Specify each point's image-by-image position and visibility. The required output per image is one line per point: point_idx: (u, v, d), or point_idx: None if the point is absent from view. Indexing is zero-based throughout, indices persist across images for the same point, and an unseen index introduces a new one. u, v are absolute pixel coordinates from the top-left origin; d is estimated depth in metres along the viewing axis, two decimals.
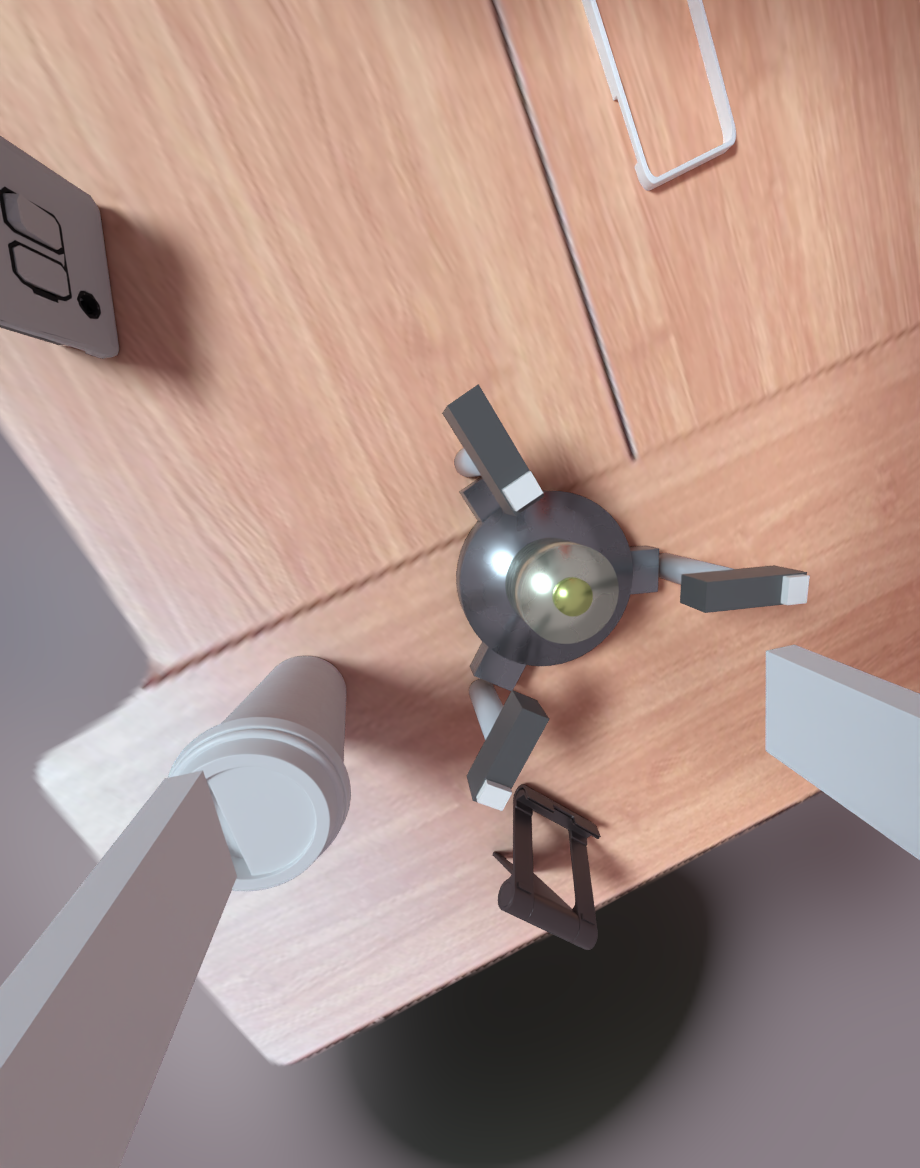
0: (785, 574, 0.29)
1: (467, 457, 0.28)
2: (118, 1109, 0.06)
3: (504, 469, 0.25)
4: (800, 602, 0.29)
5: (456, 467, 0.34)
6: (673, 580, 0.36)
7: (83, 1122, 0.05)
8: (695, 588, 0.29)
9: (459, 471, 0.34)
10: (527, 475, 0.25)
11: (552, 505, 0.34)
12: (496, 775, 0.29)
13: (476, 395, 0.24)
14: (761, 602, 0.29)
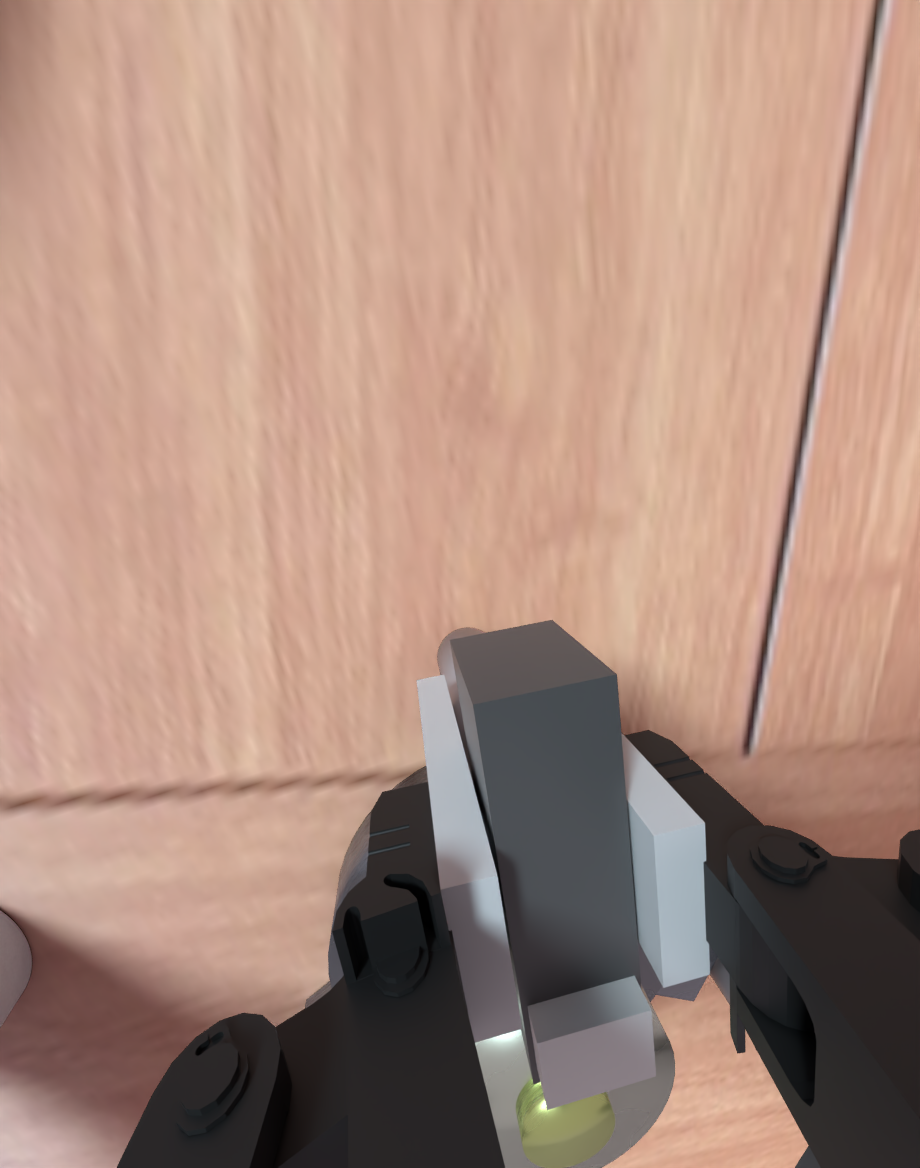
0: None
1: (466, 745, 0.10)
2: None
3: (566, 952, 0.07)
4: None
5: (438, 663, 0.16)
6: None
7: None
8: None
9: None
10: (634, 1018, 0.07)
11: None
12: None
13: (590, 706, 0.06)
14: None
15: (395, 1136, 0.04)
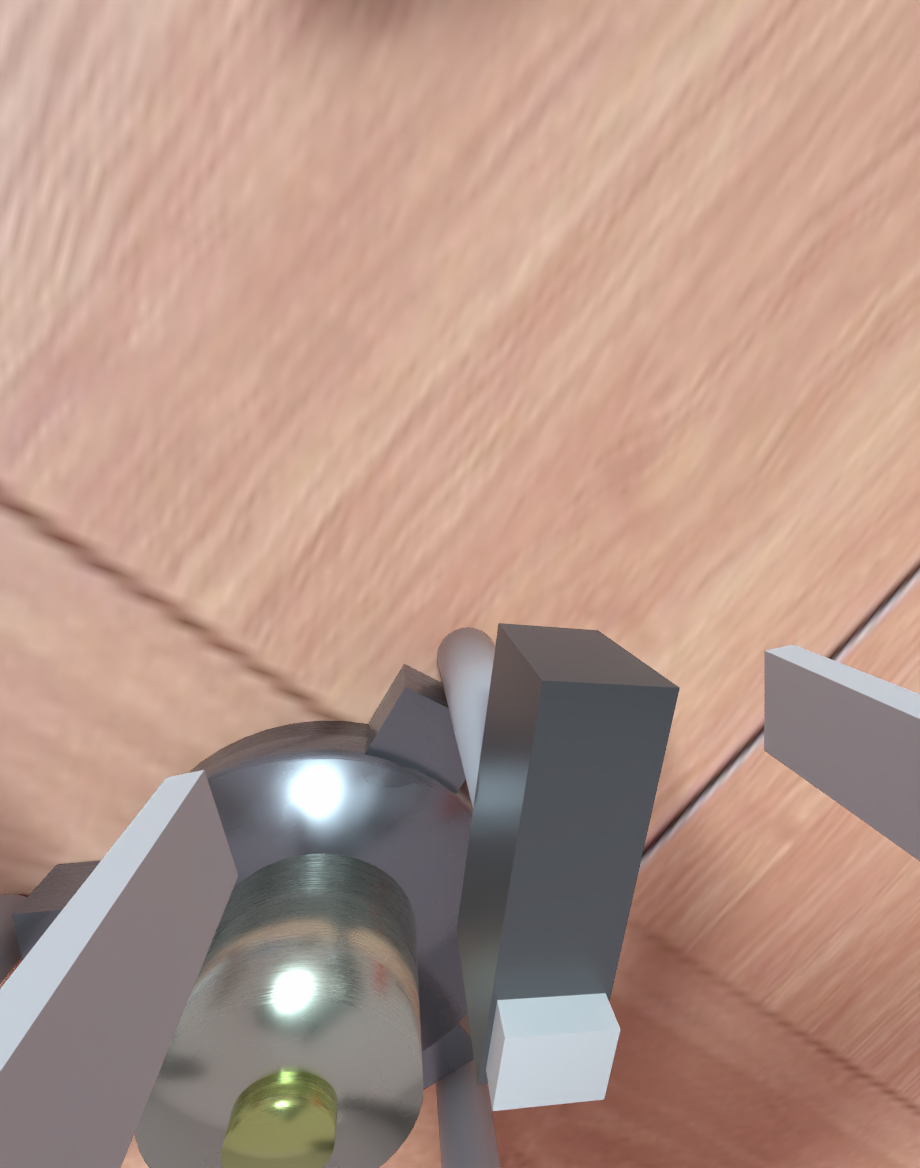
0: None
1: (473, 734, 0.10)
2: (119, 1108, 0.06)
3: (550, 953, 0.07)
4: None
5: (440, 655, 0.16)
6: (441, 1129, 0.18)
7: (86, 1120, 0.05)
8: None
9: (439, 668, 0.16)
10: (602, 1033, 0.07)
11: None
12: None
13: (647, 713, 0.06)
14: None
15: None
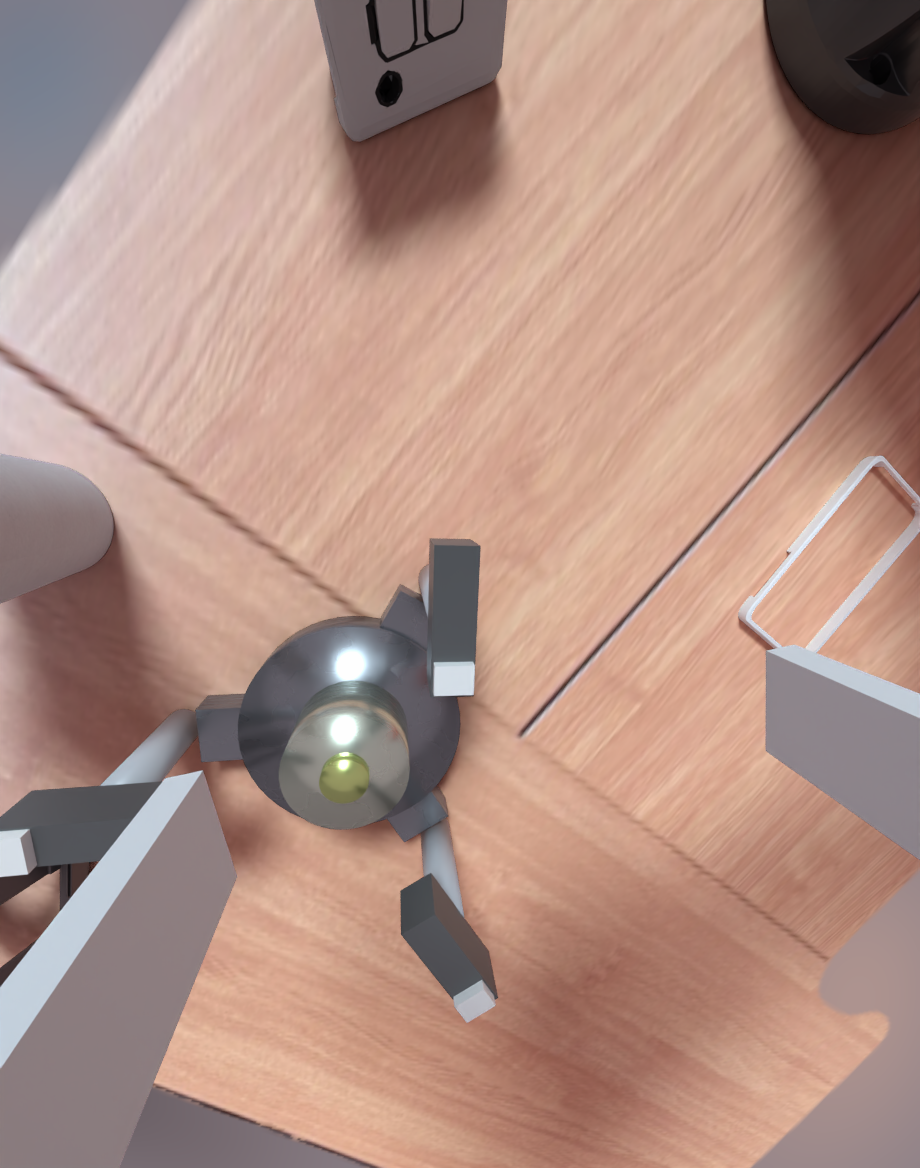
0: (484, 980, 0.25)
1: (428, 592, 0.23)
2: (117, 1109, 0.06)
3: (450, 644, 0.20)
4: (464, 1017, 0.24)
5: (419, 577, 0.29)
6: (423, 852, 0.31)
7: (83, 1122, 0.05)
8: (422, 902, 0.24)
9: (419, 584, 0.29)
10: (468, 667, 0.20)
11: None
12: (44, 838, 0.19)
13: (470, 555, 0.20)
14: (443, 978, 0.24)
15: None
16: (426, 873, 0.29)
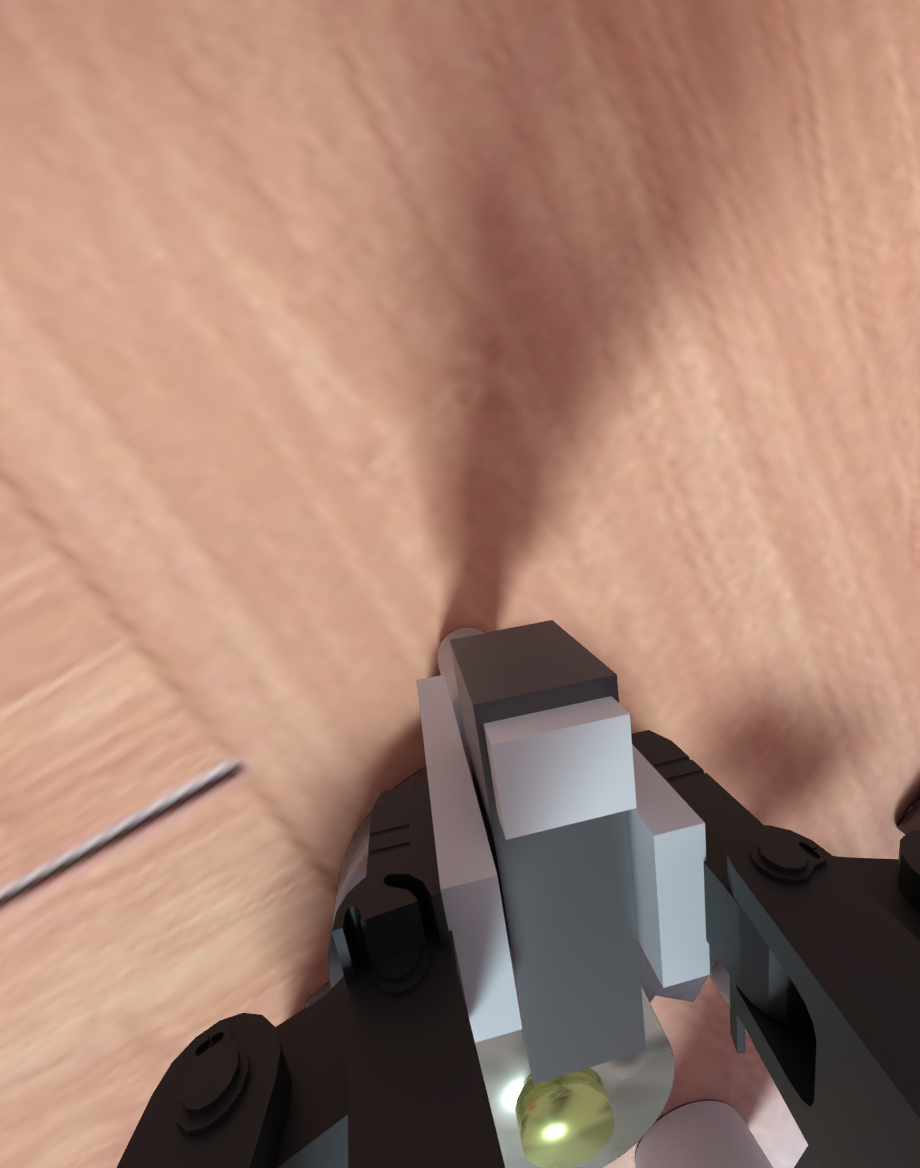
0: (488, 798, 0.06)
1: None
2: None
3: None
4: (625, 748, 0.06)
5: None
6: None
7: None
8: None
9: None
10: None
11: None
12: None
13: None
14: (611, 868, 0.07)
15: (395, 1137, 0.04)
16: None
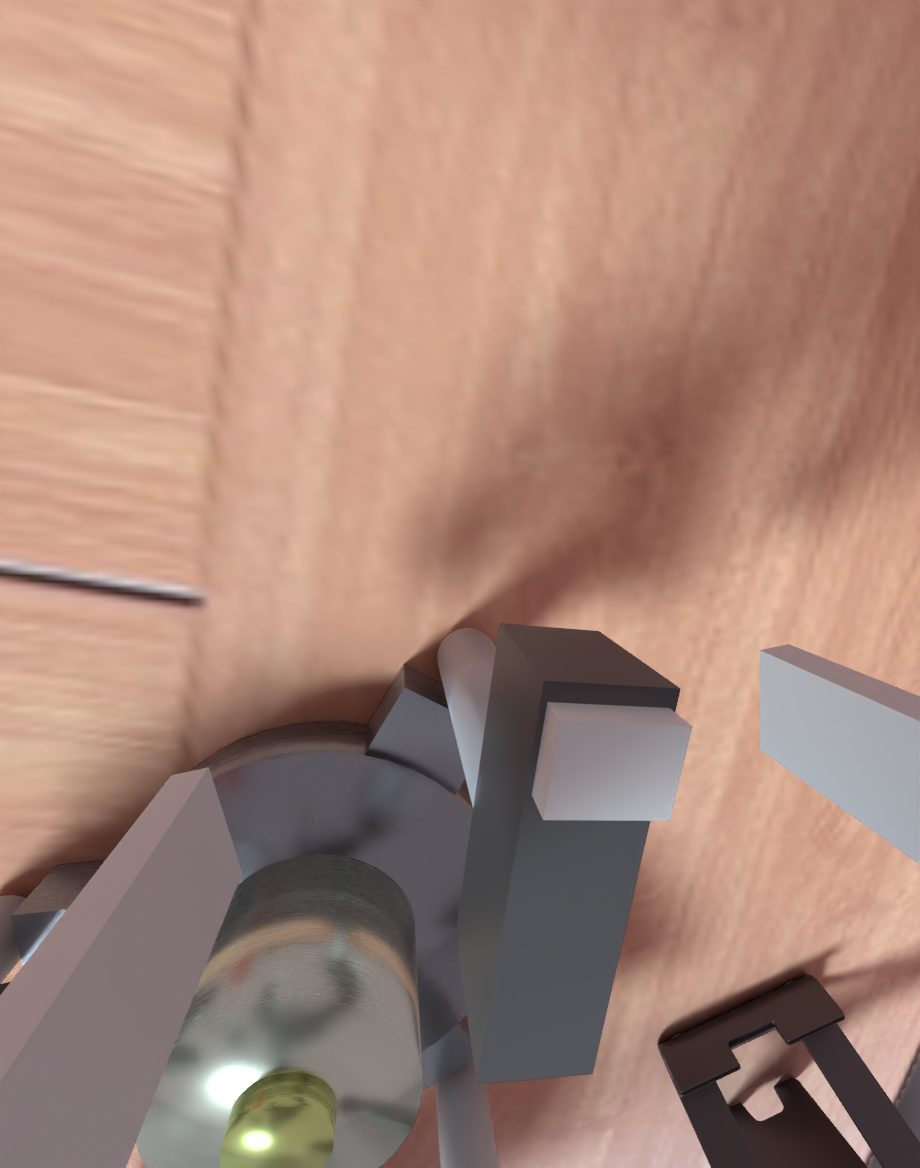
0: (527, 777, 0.06)
1: None
2: (128, 1100, 0.06)
3: None
4: (678, 758, 0.06)
5: None
6: None
7: (95, 1111, 0.05)
8: None
9: (12, 966, 0.16)
10: None
11: None
12: None
13: None
14: (617, 879, 0.07)
15: None
16: None
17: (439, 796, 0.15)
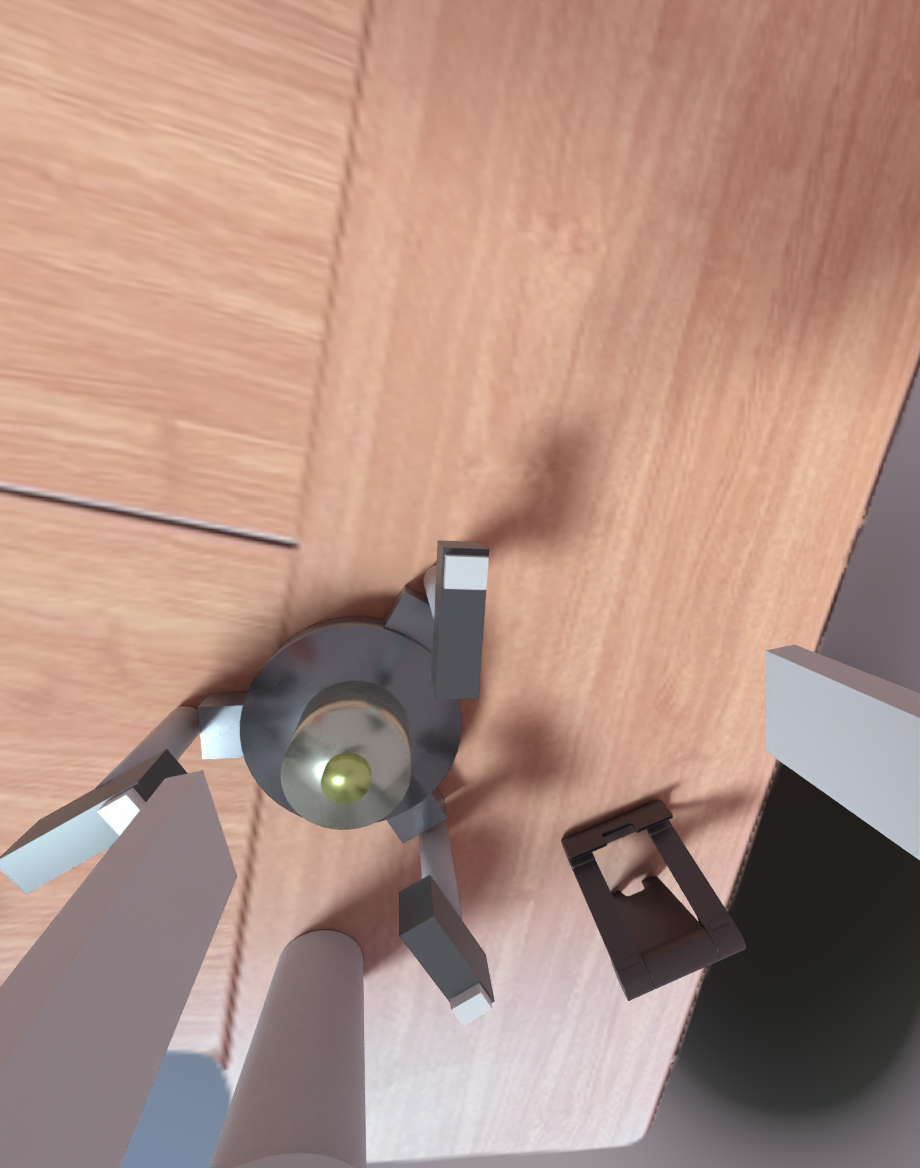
0: (441, 581, 0.20)
1: None
2: (116, 1110, 0.06)
3: (103, 830, 0.20)
4: (485, 568, 0.19)
5: None
6: None
7: (83, 1122, 0.05)
8: None
9: None
10: (103, 814, 0.19)
11: (271, 685, 0.28)
12: (454, 989, 0.24)
13: (8, 865, 0.20)
14: (477, 618, 0.20)
15: None
16: None
17: (423, 651, 0.29)
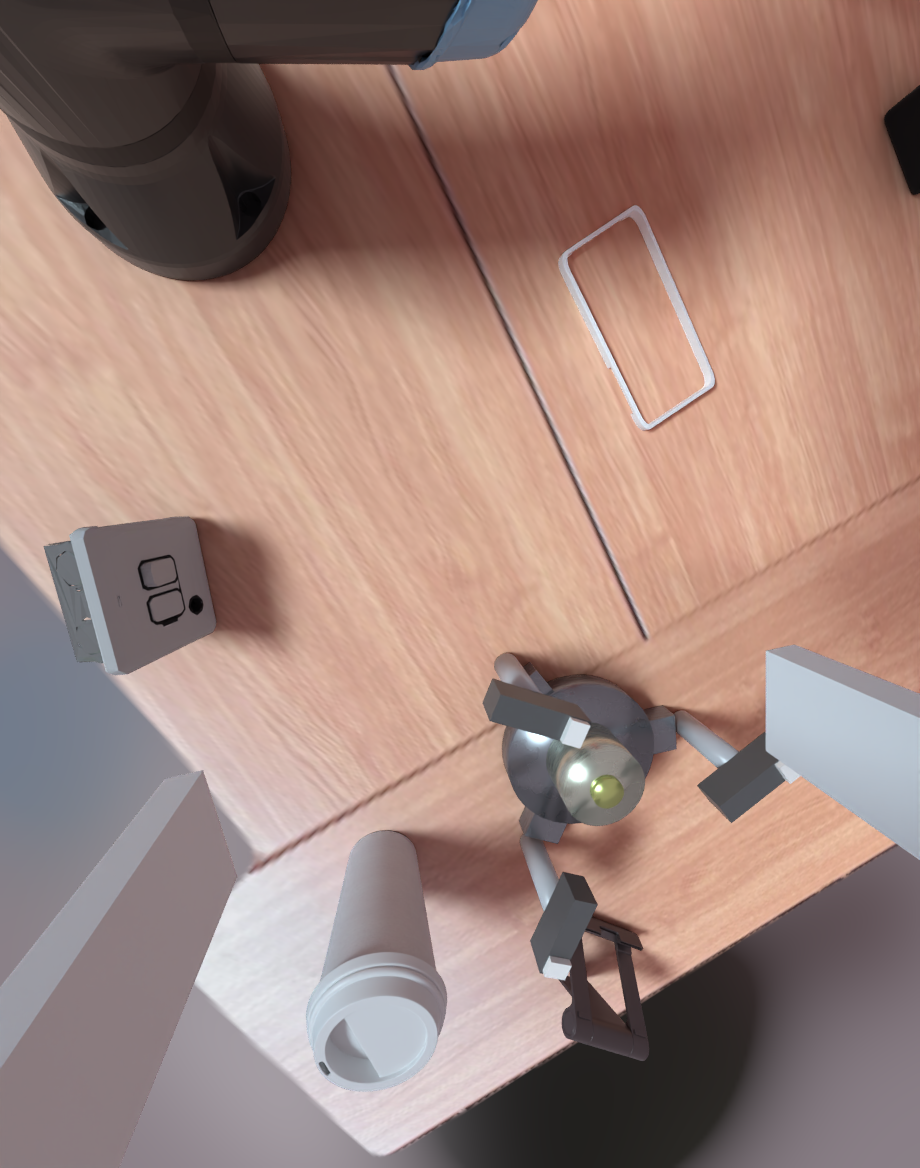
0: (775, 761, 0.34)
1: None
2: (116, 1110, 0.06)
3: (553, 727, 0.31)
4: (799, 775, 0.34)
5: None
6: None
7: (83, 1122, 0.05)
8: (713, 802, 0.36)
9: None
10: (572, 723, 0.31)
11: (581, 697, 0.40)
12: (557, 951, 0.35)
13: (503, 701, 0.30)
14: (769, 789, 0.35)
15: None
16: None
17: (652, 751, 0.42)
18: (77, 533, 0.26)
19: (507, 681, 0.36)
